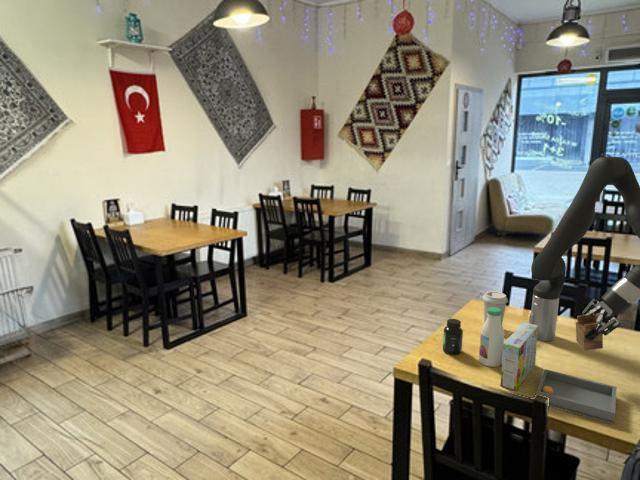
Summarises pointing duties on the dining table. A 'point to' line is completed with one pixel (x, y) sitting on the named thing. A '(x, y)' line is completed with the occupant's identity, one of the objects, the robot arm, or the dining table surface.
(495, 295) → the coffee cup
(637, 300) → the robot arm
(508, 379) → the snack box
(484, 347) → the milk bottle
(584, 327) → the wooden box
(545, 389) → the ball
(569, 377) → the tray
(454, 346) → the supplement bottle
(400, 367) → the dining table surface
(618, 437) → the dining table surface
